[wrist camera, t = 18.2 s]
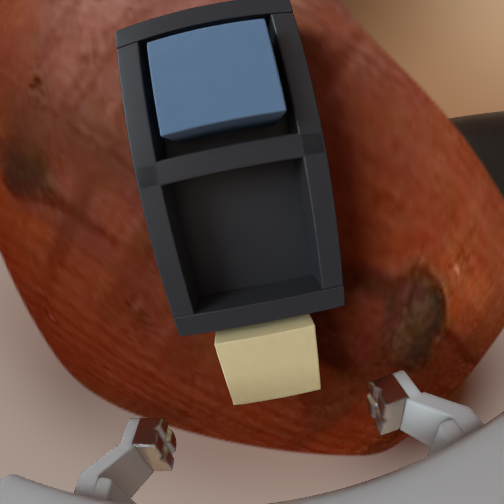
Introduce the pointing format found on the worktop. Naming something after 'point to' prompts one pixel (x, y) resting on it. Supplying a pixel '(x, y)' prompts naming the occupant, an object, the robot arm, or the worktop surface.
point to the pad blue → (215, 80)
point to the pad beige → (269, 359)
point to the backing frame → (235, 189)
